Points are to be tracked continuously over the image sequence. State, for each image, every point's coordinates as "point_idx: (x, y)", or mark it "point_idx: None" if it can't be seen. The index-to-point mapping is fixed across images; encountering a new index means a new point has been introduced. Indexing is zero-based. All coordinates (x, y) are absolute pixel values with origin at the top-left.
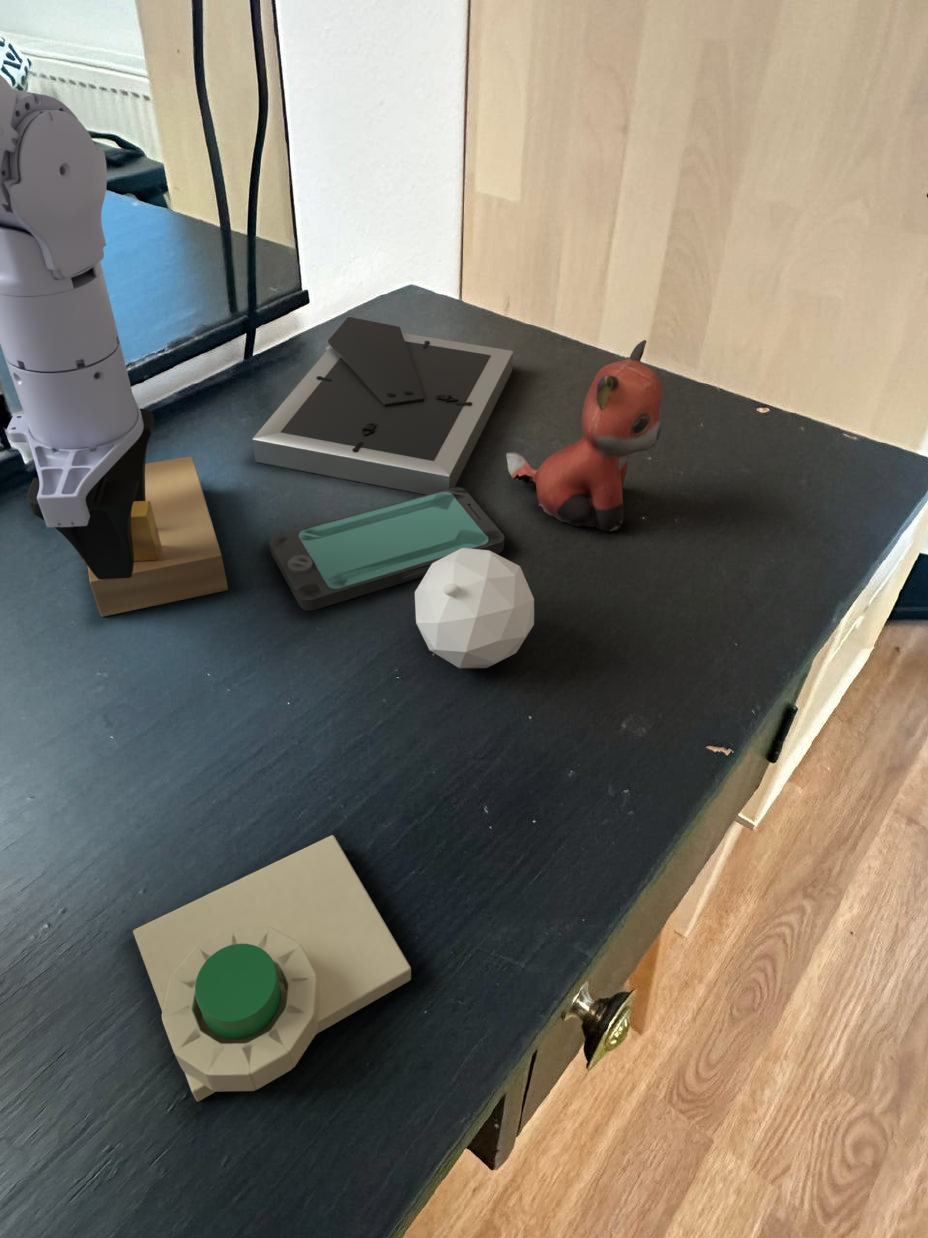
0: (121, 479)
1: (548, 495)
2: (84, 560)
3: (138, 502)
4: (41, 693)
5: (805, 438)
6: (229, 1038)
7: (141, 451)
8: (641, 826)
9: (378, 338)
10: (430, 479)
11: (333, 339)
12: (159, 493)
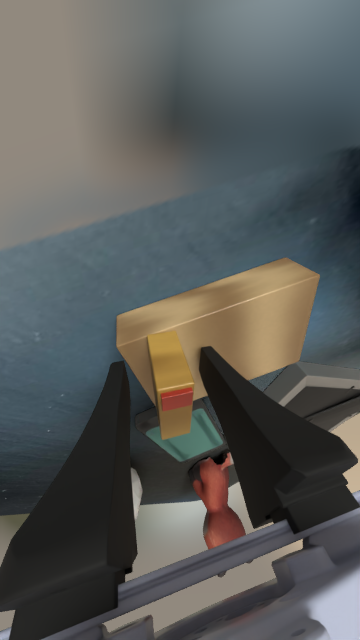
0: (226, 418)
1: (206, 471)
2: (103, 387)
3: (187, 428)
4: None
5: (230, 484)
6: None
7: (239, 478)
8: (19, 510)
9: None
10: None
11: None
12: (254, 356)
